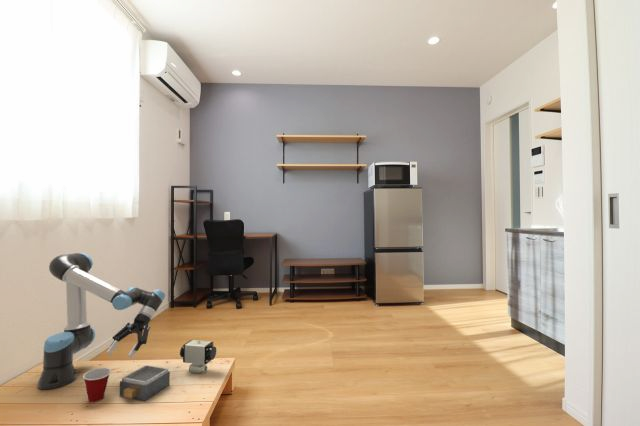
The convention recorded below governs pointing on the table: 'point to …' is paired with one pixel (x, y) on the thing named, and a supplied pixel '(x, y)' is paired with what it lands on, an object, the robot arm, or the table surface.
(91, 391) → the plastic cup
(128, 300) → the robot arm
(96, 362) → the table surface
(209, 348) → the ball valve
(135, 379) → the square tray with tab
